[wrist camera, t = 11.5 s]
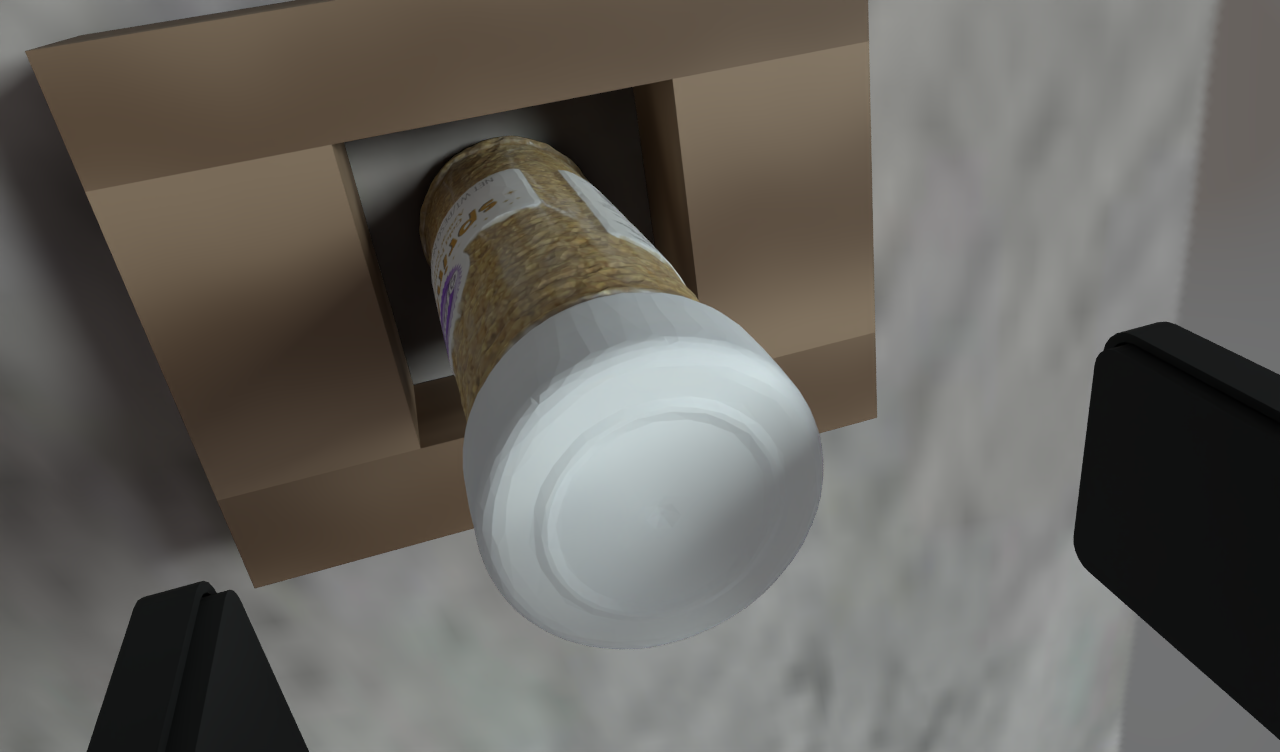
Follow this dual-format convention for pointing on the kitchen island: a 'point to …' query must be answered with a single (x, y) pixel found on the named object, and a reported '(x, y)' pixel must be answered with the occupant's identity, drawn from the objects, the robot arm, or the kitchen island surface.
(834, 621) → the kitchen island surface
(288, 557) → the walnut holder
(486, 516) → the sprinkles bottle
